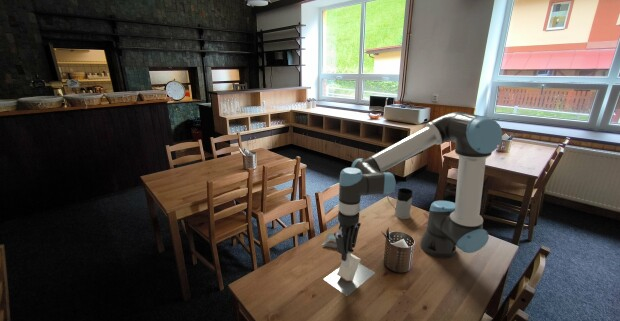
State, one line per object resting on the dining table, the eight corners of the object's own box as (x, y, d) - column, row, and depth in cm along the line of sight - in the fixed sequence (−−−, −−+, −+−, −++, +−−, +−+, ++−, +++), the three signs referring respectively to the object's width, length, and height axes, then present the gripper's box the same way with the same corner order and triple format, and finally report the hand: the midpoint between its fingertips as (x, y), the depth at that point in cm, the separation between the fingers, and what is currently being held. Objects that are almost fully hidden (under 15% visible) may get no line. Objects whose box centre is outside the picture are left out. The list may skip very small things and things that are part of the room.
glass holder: (408, 220, 157) (411, 195, 152) (383, 213, 164) (385, 189, 159) (411, 213, 164) (415, 189, 159) (387, 207, 171) (389, 184, 166)
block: (342, 274, 114) (350, 253, 115) (352, 281, 111) (360, 259, 111) (336, 274, 111) (345, 252, 112) (346, 281, 108) (355, 258, 108)
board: (351, 261, 124) (351, 258, 124) (375, 275, 116) (375, 272, 115) (323, 281, 112) (323, 279, 112) (347, 298, 104) (347, 296, 103)
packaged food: (346, 254, 128) (346, 244, 127) (321, 249, 132) (321, 239, 130) (350, 243, 136) (350, 234, 135) (326, 239, 140) (326, 230, 138)
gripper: (351, 201, 108) (348, 253, 116) (328, 213, 100) (326, 269, 107) (368, 208, 103) (363, 262, 111) (345, 221, 95) (342, 279, 102)
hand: (345, 265), depth 109 cm, fingers closed
